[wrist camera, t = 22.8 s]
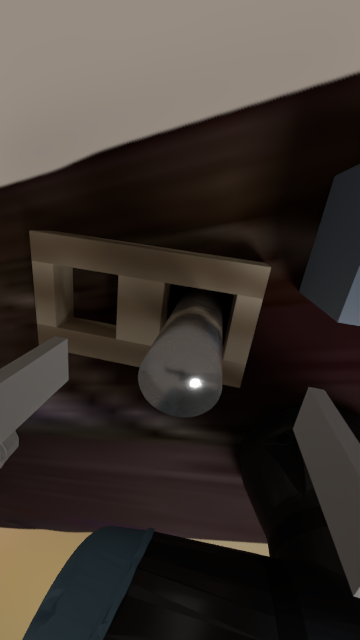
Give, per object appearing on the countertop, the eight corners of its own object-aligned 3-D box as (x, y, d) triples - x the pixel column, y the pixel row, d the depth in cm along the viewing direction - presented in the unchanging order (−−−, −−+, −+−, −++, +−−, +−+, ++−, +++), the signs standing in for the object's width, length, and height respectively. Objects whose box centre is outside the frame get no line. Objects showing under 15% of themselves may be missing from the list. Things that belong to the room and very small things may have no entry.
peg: (217, 336, 24) (213, 425, 13) (174, 328, 25) (135, 407, 14) (226, 293, 23) (230, 353, 12) (180, 285, 23) (141, 336, 12)
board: (237, 370, 25) (239, 387, 22) (57, 334, 27) (39, 346, 25) (264, 262, 21) (271, 267, 19) (52, 230, 23) (29, 230, 21)
